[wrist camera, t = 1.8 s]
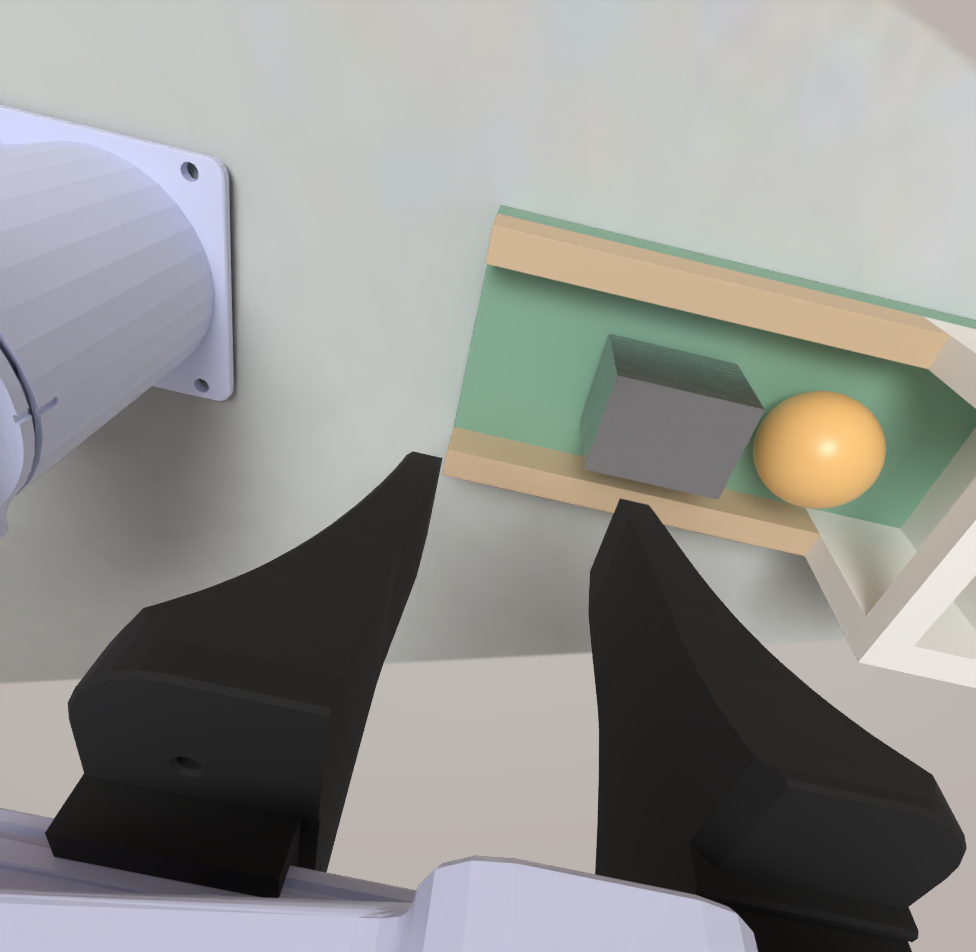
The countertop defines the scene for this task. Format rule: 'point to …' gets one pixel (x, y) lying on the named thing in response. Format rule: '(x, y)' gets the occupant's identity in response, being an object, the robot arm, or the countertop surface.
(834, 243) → the countertop surface
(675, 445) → the block
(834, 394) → the ball
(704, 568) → the countertop surface
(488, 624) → the countertop surface
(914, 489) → the pitch
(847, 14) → the countertop surface
